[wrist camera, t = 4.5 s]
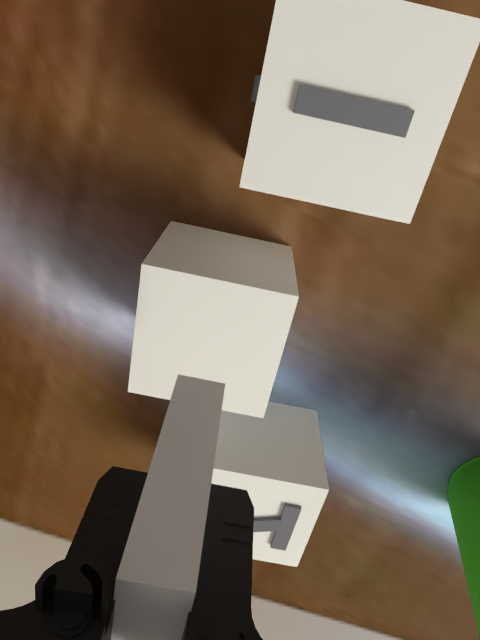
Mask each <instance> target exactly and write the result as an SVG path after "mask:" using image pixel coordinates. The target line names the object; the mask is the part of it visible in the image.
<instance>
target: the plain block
mask: <svg viewBox="0 0 480 640" xmlns="http://www.w3.org/2000/svg"><path fill="white" fill-rule="evenodd" d="M298 298H299V294H298V287H297V281H296V274H295V267H294V261H293V254H292V248H291V246H287V245H282V244H277V243H273V242H268V241H263V240H258V239H254V238H249V237H244V236H240V235H235V234H230V233H226V232H221V231H216V230H212V229H207V228H202V227H198V226H193V225H188V224H183V223H179V222H174V221H171V222H170V223H169V225H168V226H167V228H166V229H165V230H164V232H163V233H162V235H161V236H160V238H159V239H158V241H157V242H156V244H155V245H154V247H153V248H152V249H151V251H150V252H149V254H148V255H147V257H146V258H145V260H144V261H143V263H142V265H141V274H140V283H139V292H138V302H137V311H136V320H135V329H134V339H133V348H132V357H131V366H130V376H129V385H128V392H131V393H136V394H141V395H146V396H151V397H156V398H162V399H167V400H170V399H171V396H172V393H173V389H174V386H175V383H176V380H177V376H178V374H179V375H184V376H189V377H194V378H199V379H205V380H210V381H215V382H220V383H225V390H224V397H223V404H222V410H223V411H228V412H234V413H239V414H244V415H249V416H254V417H259V418H264V415H265V411H266V408H267V404H268V401H269V398H270V394H271V391H272V387H273V384H274V380H275V377H276V374H277V370H278V367H279V363H280V360H281V356H282V353H283V350H284V346H285V343H286V339H287V336H288V332H289V329H290V326H291V322H292V319H293V315H294V312H295V308H296V305H297V301H298Z"/></svg>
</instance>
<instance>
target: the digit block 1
mask: <svg viewBox="0 0 480 640" xmlns="http://www.w3.org/2000/svg"><path fill="white" fill-rule="evenodd" d="M479 42H480V19H479V18H475V17H470V16H466V15H462V14H458V13H454V12H450V11H445V10H441V9H437V8H433V7H429V6H424V5H420V4H416V3H412V2H408V1H404V0H276V3H275V8H274V13H273V18H272V23H271V28H270V34H269V39H268V44H267V49H266V54H265V59H264V64H263V69H262V74H261V76H260V75H255V80H254V86H253V91H252V96H251V101H252V102H256V105H255V110H254V115H253V120H252V125H251V130H250V136H249V141H248V146H247V151H246V156H245V161H244V166H243V171H242V176H241V181H240V187H241V188H245V189H250V190H255V191H259V192H264V193H268V194H273V195H278V196H282V197H287V198H292V199H296V200H301V201H306V202H310V203H315V204H320V205H324V206H329V207H333V208H338V209H343V210H347V211H352V212H357V213H361V214H366V215H371V216H375V217H380V218H385V219H389V220H394V221H398V222H403V223H408V224H410V222H411V220H412V217H413V214H414V212H415V209H416V207H417V204H418V201H419V199H420V196H421V194H422V191H423V188H424V186H425V183H426V181H427V178H428V175H429V173H430V170H431V168H432V165H433V162H434V160H435V157H436V154H437V152H438V149H439V147H440V144H441V141H442V139H443V136H444V134H445V131H446V128H447V126H448V123H449V121H450V118H451V115H452V113H453V110H454V108H455V105H456V102H457V100H458V97H459V94H460V92H461V89H462V87H463V84H464V81H465V79H466V76H467V74H468V71H469V68H470V66H471V63H472V61H473V58H474V55H475V53H476V50H477V48H478V45H479Z"/></svg>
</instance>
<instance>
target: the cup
mask: <svg viewBox="0 0 480 640" xmlns="http://www.w3.org/2000/svg"><path fill="white" fill-rule="evenodd" d="M447 496H448V502H449V506H450V511H451V515H452V519H453V524H454V528H455V532H456V537H457V541H458V545H459V550H460V554H461V559H462V563H463V567H464V572H465V576H466V580H467V585H468V589H469V593H470V598H471V602H472V606H473V611H474V615H475V619H476V624H477V628H478V632H479V637H480V457H478V458H475V459H472V460H470V461H468V462H466V463H464V464H463V465H461V466H460V467H459V468H458V469H457V470H456V471H455V472H454V473H453V474H452V476H451V478H450V480H449V484H448V490H447Z"/></svg>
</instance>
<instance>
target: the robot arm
mask: <svg viewBox="0 0 480 640" xmlns="http://www.w3.org/2000/svg"><path fill="white" fill-rule="evenodd" d="M224 390H225V383H220V382H215V381H210V380H205V379H199V378H194V377H189V376H184V375H179V374H178V376H177V380H176V383H175V386H174V389H173V393H172V396H171V399H170V403H169V406H168V409H167V412H166V416H165V419H164V422H163V425H162V429H161V432H160V435H159V439H158V442H157V445H156V448H155V452H154V455H153V458H152V462H151V465H150V468H149V471H148V473H146V472H140V471H135V470H130V469H124V468H119V467H114V466H113V467H112V468H111V469H110V470H109V471H107V472H106V473H105V474H104V475H103V476H102V477H101V478H100V479H99V480H98V482H97V485H96V487H95V489H94V492H93V494H92V496H91V499H90V502H89V503H88V506H87V508H86V511H85V513H84V516H83V518H82V520H81V522H80V525H79V527H78V529H77V532H76V534H75V537H74V539H73V541H72V544H71V546H70V548H69V551H68V553H67V555H66V558H65V559H64V560H61V561H59V562H56V563H55V564H54V565H52V566H51V567H50V568H48V569H47V570H46V571H44V573H43V574H42V575H41V577H40V578H39V580H38V581H37V583H36V585H35V600H34V601H32V602H31V603H28V604H26V605H24V606H21V607H17V608H14V609H9V610H3V611H0V640H263V639H262V638H261V637H260V635H259V633H258V632H257V630H256V628H255V626H254V622H253V619H252V613H251V589H252V559H253V547H252V546H253V528H254V507H253V504H252V502H251V499H250V497H249V494H248V492H247V490H243V489H238V488H232V487H227V486H221V485H216V484H211V482H212V475H213V468H214V461H215V454H216V446H217V439H218V432H219V425H220V418H221V411H222V404H223V397H224Z"/></svg>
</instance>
